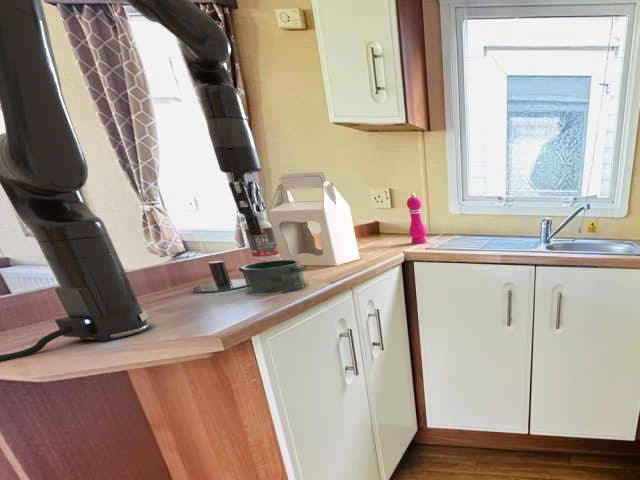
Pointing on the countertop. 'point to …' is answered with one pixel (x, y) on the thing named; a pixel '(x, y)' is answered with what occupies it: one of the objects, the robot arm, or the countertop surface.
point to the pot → (274, 276)
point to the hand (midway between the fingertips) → (259, 233)
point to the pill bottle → (262, 240)
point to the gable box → (328, 213)
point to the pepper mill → (416, 221)
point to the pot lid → (220, 280)
